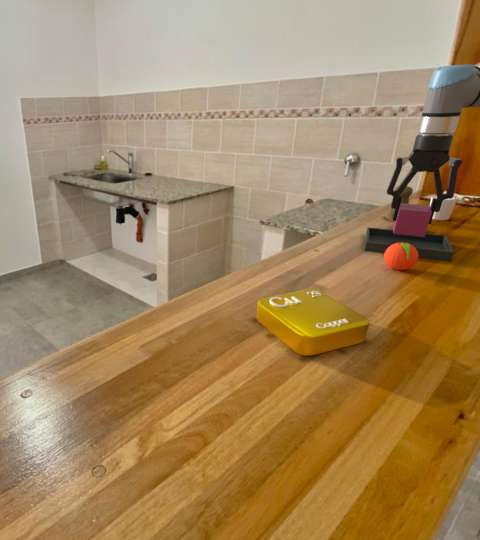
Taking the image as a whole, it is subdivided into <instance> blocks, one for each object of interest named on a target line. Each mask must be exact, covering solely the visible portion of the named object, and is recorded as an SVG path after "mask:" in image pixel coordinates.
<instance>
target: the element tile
mask: <svg viewBox="0 0 480 540" xmlns="http://www.w3.org/2000/svg"><path fill="white" fill-rule="evenodd" d="M255 318H256V321H257V322H258V323H260V325H262V326H263V327H264V328H265V329H266V330H268V331H269V332H270V333H271V334H272V335H274V336H275V337H276V338H277V339H278V340H280V341H281V342H282V343H283V344H285V345H286V346H287V347H288V348H290V349H291V350H292V351H293V352H294V353H296V354H298V355H300V356H304V357H310V356H311V357H312V356H317V355H320V354H324V353H327V352H332V351H335V350H338V349H344V348H346V347H350V346H351V347H352V346H354V345H359V344H362V343H364V342H365V341H366V338H367V335H368V331H369V327H370V320H369V318H368V317H367V316H365V315H363V314H361V313H360V312H358V311H356V310H355V309H353V308H352V307H349V306H348V305H346V304H345V303H342V302H341V301H339V300H337V299H335V298H334V297H332V296H330V294H329V295H328V294H327V293H325V292H324V291H321V290H319V289H318V288H305V289H300V290H295V291H290V292H287V293H280V294H276V295H272V296H267V297H263V298H260V299H258V300H257V306H256V316H255Z"/></svg>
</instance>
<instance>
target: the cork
mask: <svg viewBox="0 0 480 540" xmlns="http://www.w3.org/2000/svg"><path fill="white" fill-rule="evenodd" d="M398 187H399V185H398V186H395V187H394V189H393V190H394V191H396V189H397V188H398ZM413 191H414V189H413V188H412V187H411V186H409V185H407V186H406V188H405V189H404V190H403V192H402V193H401V194H400V196H402V200H401V203H404V204H410V203H409V202H410V197H411V196H412V194H413ZM394 211H395V209H393V208H391V205H390V206H389V209H388V211H387V213H386V216H385V218H386V219H388V220H390V221H391V220H392V221H393V214H394Z"/></svg>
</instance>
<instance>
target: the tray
mask: <svg viewBox="0 0 480 540" xmlns="http://www.w3.org/2000/svg"><path fill="white" fill-rule="evenodd" d="M364 238H365V239H364V249H363V250H364V251H366V252H371V253H372V252H373V253H379V254H381V253H382V254H385V252H386V250H387V249H388V247H390V246H391V245H393V244H395V243H399V242H403V243H404V242H405V243H408V244H411V245H412V246H414V247H415V248H416V250H417V251H418V255H419V256H418V259H419V258H421V259H428V260H434V261H435V260H436V261H444V262H451V261H452V259H453V256H454V250H453V248H452V244H451V243H450V240H449V238H448V236H447V235H446V234H437V233H428V232H426V234H425V237H419V236H410V235H401V234H393V229H390V228H389V229H387V228H378V227H367V228H366V232H365V237H364Z"/></svg>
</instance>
